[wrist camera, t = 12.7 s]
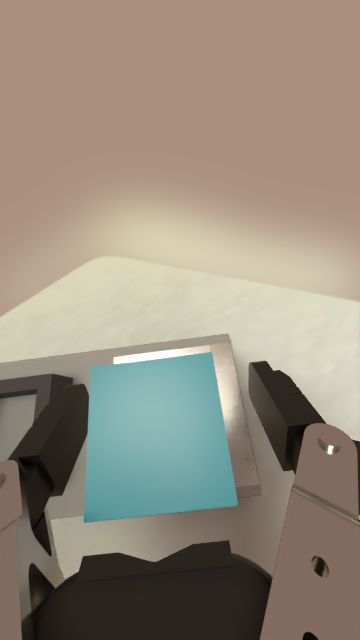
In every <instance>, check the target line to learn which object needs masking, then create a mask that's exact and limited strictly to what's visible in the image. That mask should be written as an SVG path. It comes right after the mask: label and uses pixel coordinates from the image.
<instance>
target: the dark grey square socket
mask: <svg viewBox="0 0 360 640" xmlns="http://www.w3.org/2000/svg"><path fill="white" fill-rule="evenodd" d="M67 385H73V378H71V377H67V376H62V375H57V374H53V373H51V374H43V375H35V376H28V377H20V378H12V379H4V380H0V399H2V398H10V397H18V396H26V395H34V394H37V395H36V403H35V411H34V419H33V423H34V421H35V420H36V419H37V418H38V416H39V414H40V413H41V412H42V410H43V409H44V407H45V406H46V405H47V404H49V403H50V402H51V401H52V400H53V399H54V398H57V397H58V396H59V395H60V393H61V392H62V390H63V389H64V387H65V386H67Z"/></svg>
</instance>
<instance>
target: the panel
mask: <svg viewBox="0 0 360 640" xmlns="http://www.w3.org/2000/svg"><path fill="white" fill-rule="evenodd" d="M228 342H230V340H229V335H228V334H221V335H214V336H206V337H198V338H190V339H183V340H175V341H167V342H160V343H152V344H144V345H136V346H129V347H121V348H113V349H105V350H98V351H90V352H82V353H75V354H67V355H59V356H51V357H44V358H36V359H28V360H21V361H13V362H5V363H0V380H4V379H12V378H20V377H28V376H35V375H43V374H51V373H53V374H57V375H62V376H67V377H71V378H73V385H74V384H84V385H85V386H86V388H87V391H88V394H89V389H90V367H96V366H104V365H112V364H114V357H120V356H127V355H135V354H143V353H151V352H158V351H166V350H174V349H182V348H189V347H197V346H205V345H213V344H221V343H228ZM232 355H233V354H232ZM238 384H239V383H238ZM36 395H37V394H34V395H26V396H18V397H10V398H2V399H0V462H3V461H7V459H8V458H9V457H10V455H11V454H12V452H13V451H14V450H15V448H16V447H17V445H18V444H19V443H20V441H21V440H22V438H23V437H24V435H25V434H26V433H27V431H28V430H29V428H30V427H32V424H33V419H34V411H35V403H36ZM87 437H88V434H87ZM87 437H86V439H85V441H84V444H83V446H82V449H81V451H80V454H79V456H78V458H77V461H76V463H75V466H74V468H73V471H72V473H71V476H70V478H69V480H68V483H67V485H66V488H65V490H64V493H63V495H62V496H56V497H50V498H49V500H48V502H47V504H46V507H47V509H48V513H49V518H50V519H57V518H66V517H75V516H83V515H84V509H85V485H86V461H87ZM249 437H250V436H249ZM255 466H256V465H255ZM235 489H236V494H237V498H242V497H251V496H259V495H262V494H261V490H260V485H251V486H242V487H235Z"/></svg>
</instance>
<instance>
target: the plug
mask: <svg viewBox="0 0 360 640" xmlns="http://www.w3.org/2000/svg"><path fill="white" fill-rule="evenodd" d="M231 506H238V500H237V494H236V489H235V483H234V477H233V471H232V465H231V459H230V453H229V447H228V442H227V436H226V430H225V424H224V418H223V412H222V406H221V401H220V395H219V389H218V383H217V377H216V371H215V365H214V360H213V354H212V352H207V353H199V354H192V355H184V356H176V357H168V358H160V359H152V360H144V361H136V362H128V363H120V364H112V365H104V366H96V367H90V389H89V413H88V437H87V461H86V485H85V509H84V523H86V522H95V521H104V520H113V519H122V518H131V517H141V516H150V515H159V514H168V513H177V512H186V511H195V510H204V509H213V508H222V507H231Z"/></svg>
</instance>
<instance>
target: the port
mask: <svg viewBox="0 0 360 640" xmlns="http://www.w3.org/2000/svg"><path fill="white" fill-rule="evenodd" d="M207 352H212V354H213V360H214V365H215V371H216V377H217V383H218V389H219V395H220V401H221V406H222V412H223V418H224V424H225V430H226V436H227V442H228V447H229V453H230V459H231V465H232V471H233V477H234V483H235V487H242V486H251V485H259V480H258V475H257V470H256V466H255V461H254V456H253V451H252V446H251V441H250V437H249V432H248V427H247V422H246V417H245V412H244V408H243V403H242V398H241V393H240V388H239V384H238V379H237V374H236V369H235V364H234V359H233V355H232V350H231V345H230V342H228V343H221V344H213V345H205V346H197V347H189V348H182V349H174V350H166V351H158V352H151V353H143V354H135V355H127V356H120V357H114V364H120V363H128V362H136V361H144V360H152V359H160V358H168V357H176V356H184V355H192V354H199V353H207Z"/></svg>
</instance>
